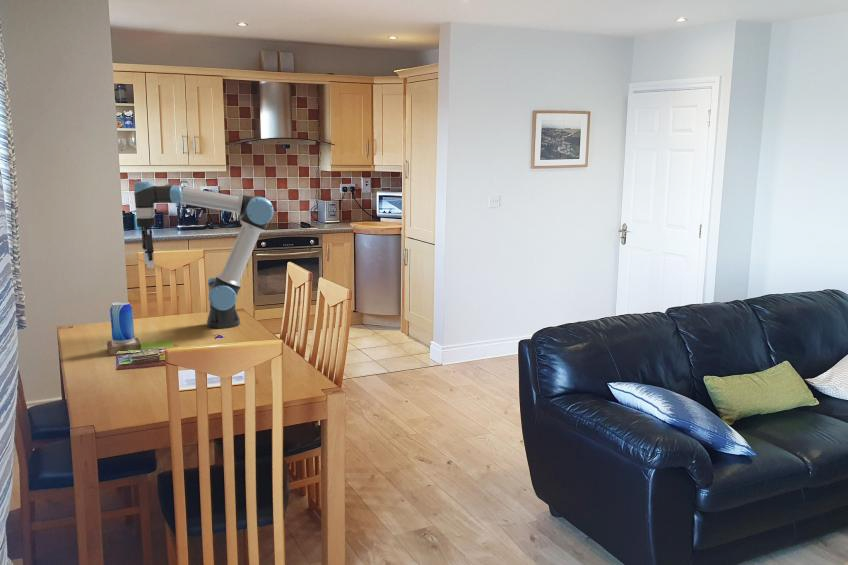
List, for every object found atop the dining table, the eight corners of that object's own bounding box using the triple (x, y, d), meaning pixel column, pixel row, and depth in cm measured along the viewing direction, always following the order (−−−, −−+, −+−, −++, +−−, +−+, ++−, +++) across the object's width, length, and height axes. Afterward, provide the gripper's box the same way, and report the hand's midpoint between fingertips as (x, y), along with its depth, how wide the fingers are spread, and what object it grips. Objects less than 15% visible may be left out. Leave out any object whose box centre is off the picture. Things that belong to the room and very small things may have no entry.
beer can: (126, 344, 293) (123, 305, 290) (108, 343, 294) (105, 305, 291) (138, 339, 301) (135, 301, 298) (120, 338, 302) (117, 300, 300)
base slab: (138, 345, 306) (137, 336, 305) (141, 352, 295) (140, 342, 295) (107, 349, 301) (106, 339, 300) (109, 356, 290) (108, 346, 289)
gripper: (133, 215, 322) (137, 262, 326) (139, 220, 300) (143, 270, 304) (151, 215, 325) (154, 261, 329) (158, 219, 303) (161, 269, 307)
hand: (149, 266), depth 316 cm, fingers open, 13 cm apart
